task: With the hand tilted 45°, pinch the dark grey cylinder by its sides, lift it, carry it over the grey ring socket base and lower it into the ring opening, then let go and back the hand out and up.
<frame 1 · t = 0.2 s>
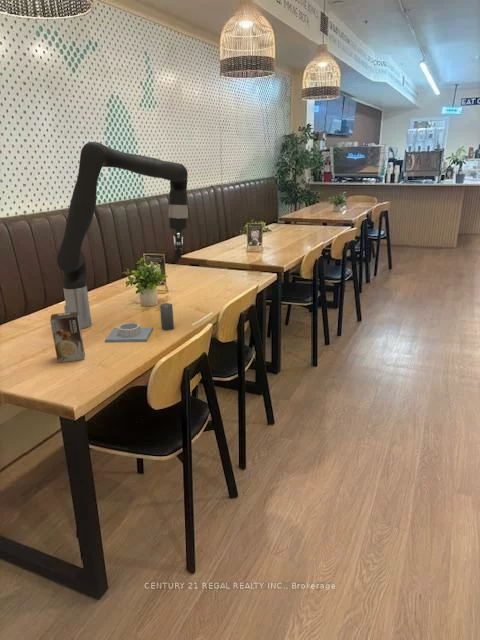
hand: (178, 257, 187), 28 cm above the table, tool pointing down, fingers open, 8 cm apart
grey ring socket base: (129, 335, 184), on the table
coffee box: (71, 358, 164), on the table
dark grey cylinder: (167, 328, 191), on the table
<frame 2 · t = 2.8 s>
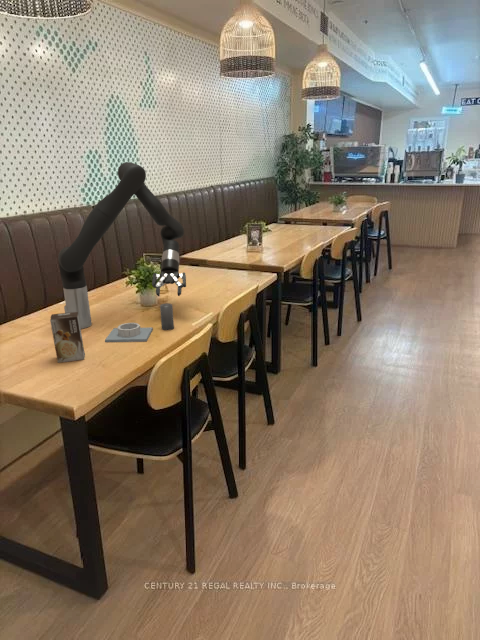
hand: (168, 295, 194), 12 cm above the table, tool tilted 45°, fingers open, 8 cm apart
nothing on the table moved.
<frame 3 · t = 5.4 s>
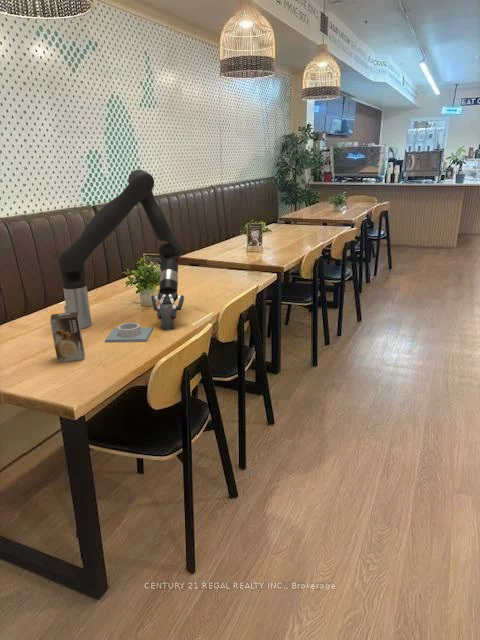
hand: (166, 318, 188), 5 cm above the table, tool tilted 45°, fingers closed on dark grey cylinder, 5 cm apart
dark grey cylinder: (167, 328, 191), on the table, touching gripper
everything else where it was.
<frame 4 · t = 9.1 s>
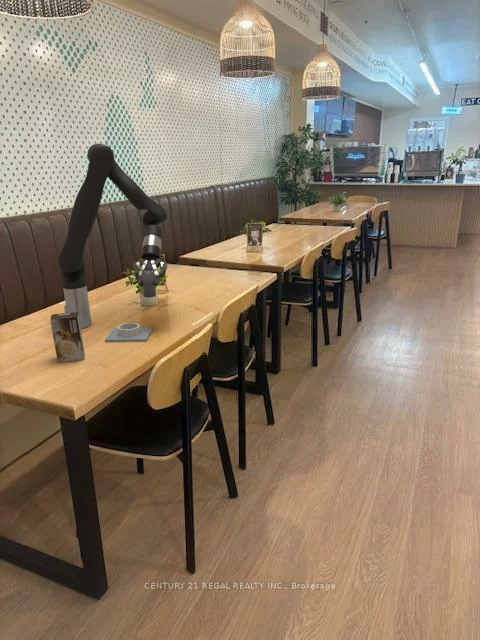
hand: (148, 285, 181), 20 cm above the table, tool tilted 45°, fingers closed on dark grey cylinder, 5 cm apart
dark grey cylinder: (149, 295, 183), point 15 cm above the table, touching gripper
everything else where it was.
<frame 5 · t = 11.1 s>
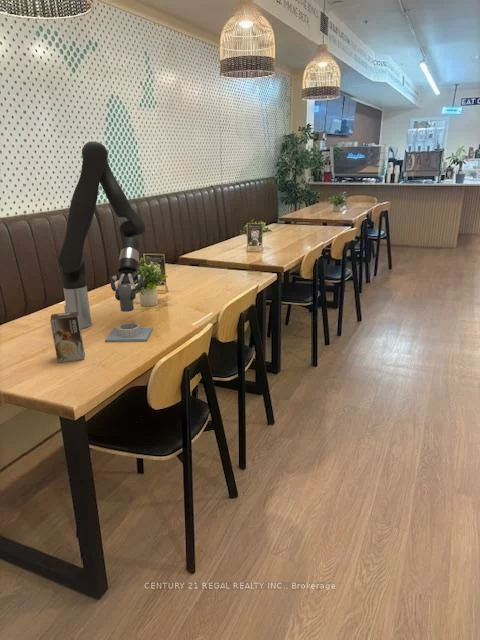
hand: (125, 299, 177), 16 cm above the table, tool tilted 45°, fingers closed on dark grey cylinder, 5 cm apart
dark grey cylinder: (127, 309, 180), point 11 cm above the table, touching gripper
everything else where it was.
when the fingers open (7 cm above the table, at t = 13.0 s): dark grey cylinder drops 1 cm, resting on grey ring socket base.
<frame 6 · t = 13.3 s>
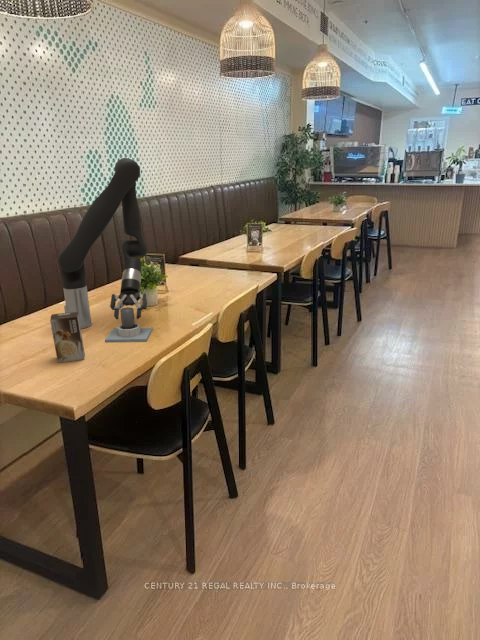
hand: (127, 318, 180), 8 cm above the table, tool tilted 45°, fingers open, 8 cm apart
dark grey cylinder: (129, 333, 184), point 1 cm above the table, touching grey ring socket base
everything else where it was.
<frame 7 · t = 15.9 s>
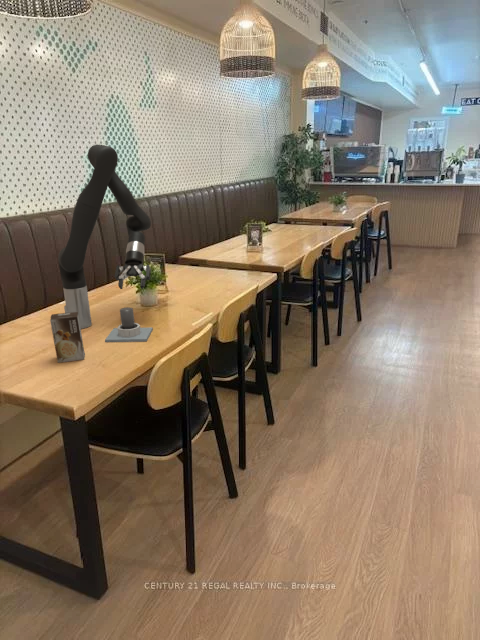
hand: (131, 288, 188), 17 cm above the table, tool tilted 45°, fingers open, 8 cm apart
nothing on the table moved.
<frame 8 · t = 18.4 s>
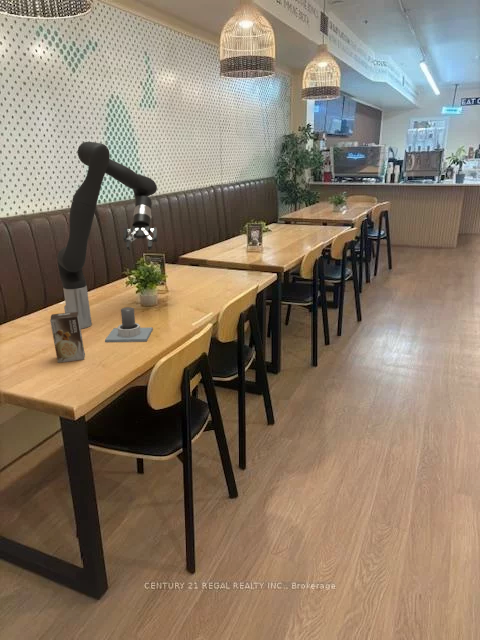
hand: (139, 249, 194), 31 cm above the table, tool tilted 45°, fingers open, 8 cm apart
nothing on the table moved.
at the end: dark grey cylinder 0.1 cm off-centre on the grey ring socket base, point 1.1 cm above the grey ring socket base's base; dark grey cylinder tilted 2°; the gripper is holding nothing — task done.
